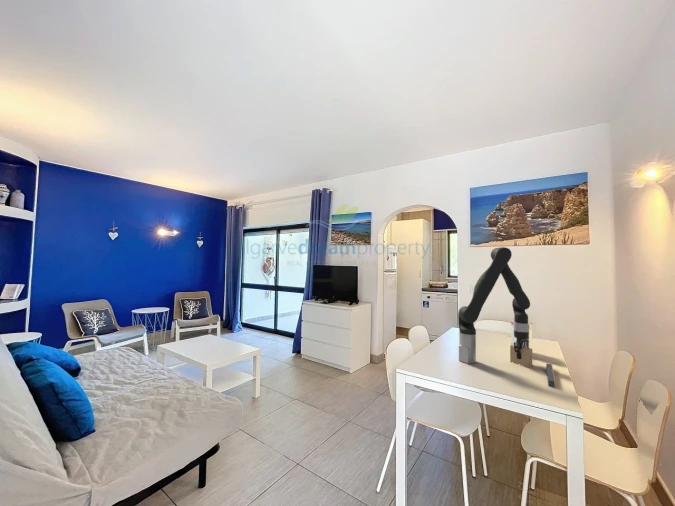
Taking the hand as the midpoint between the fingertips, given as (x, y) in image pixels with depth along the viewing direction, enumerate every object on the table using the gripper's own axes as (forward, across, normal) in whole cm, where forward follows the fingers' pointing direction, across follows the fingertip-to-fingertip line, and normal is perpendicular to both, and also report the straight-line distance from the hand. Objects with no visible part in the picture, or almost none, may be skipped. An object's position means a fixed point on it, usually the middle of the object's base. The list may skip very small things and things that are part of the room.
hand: (521, 357), depth 167 cm
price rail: (+3, +8, +18) cm, 20 cm away
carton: (+4, 0, 0) cm, 4 cm away
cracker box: (+4, -22, -10) cm, 24 cm away
